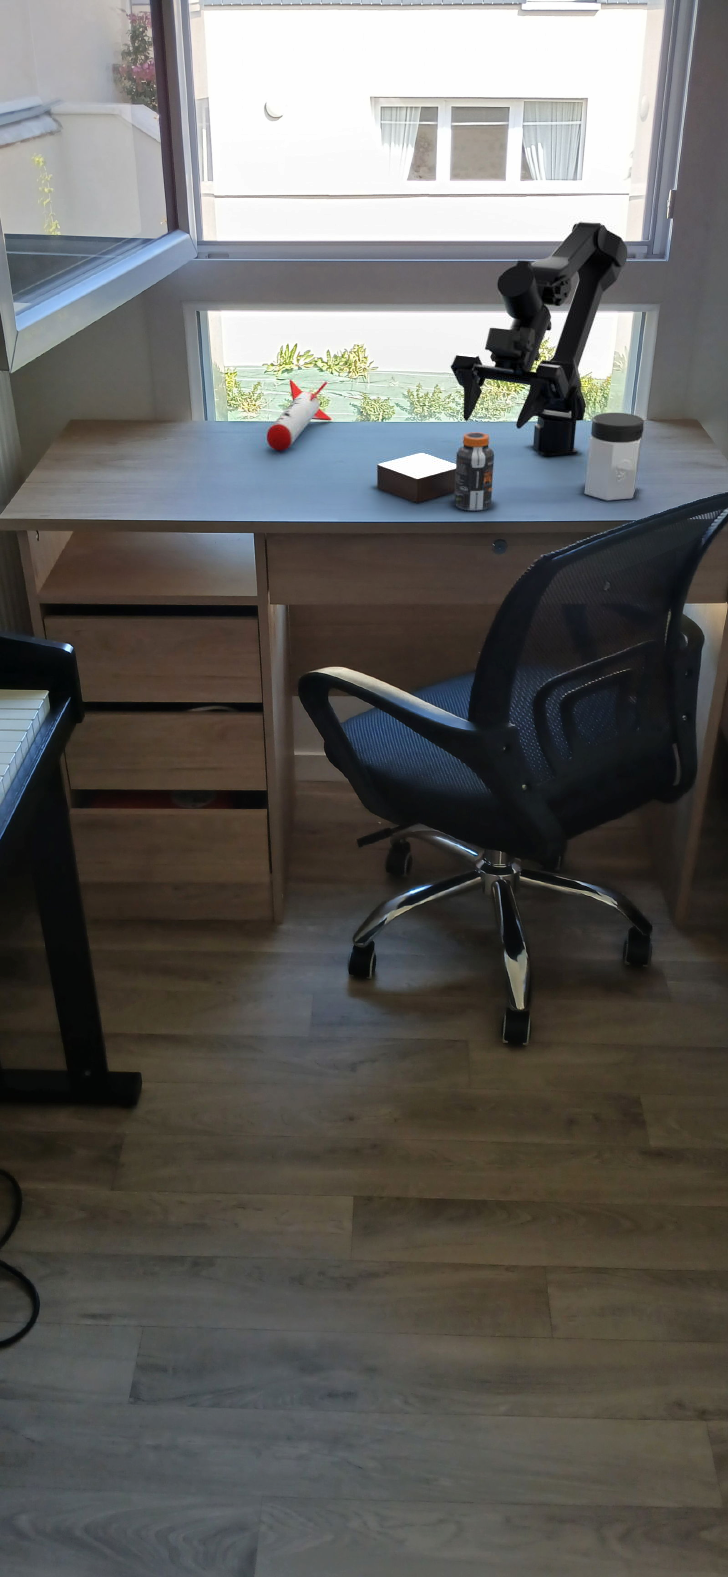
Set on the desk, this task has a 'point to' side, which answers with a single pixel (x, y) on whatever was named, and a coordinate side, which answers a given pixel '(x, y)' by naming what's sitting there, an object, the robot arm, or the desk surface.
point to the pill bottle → (474, 472)
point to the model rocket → (295, 418)
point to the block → (417, 477)
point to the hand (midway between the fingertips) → (491, 422)
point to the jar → (614, 456)
